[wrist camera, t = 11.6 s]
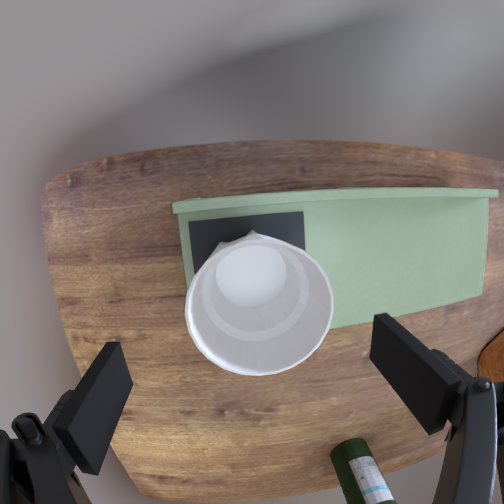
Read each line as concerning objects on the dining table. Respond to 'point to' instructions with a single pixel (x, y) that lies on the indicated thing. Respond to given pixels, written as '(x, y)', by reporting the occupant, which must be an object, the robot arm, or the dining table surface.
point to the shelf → (359, 241)
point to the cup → (259, 305)
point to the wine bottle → (360, 474)
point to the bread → (493, 360)
